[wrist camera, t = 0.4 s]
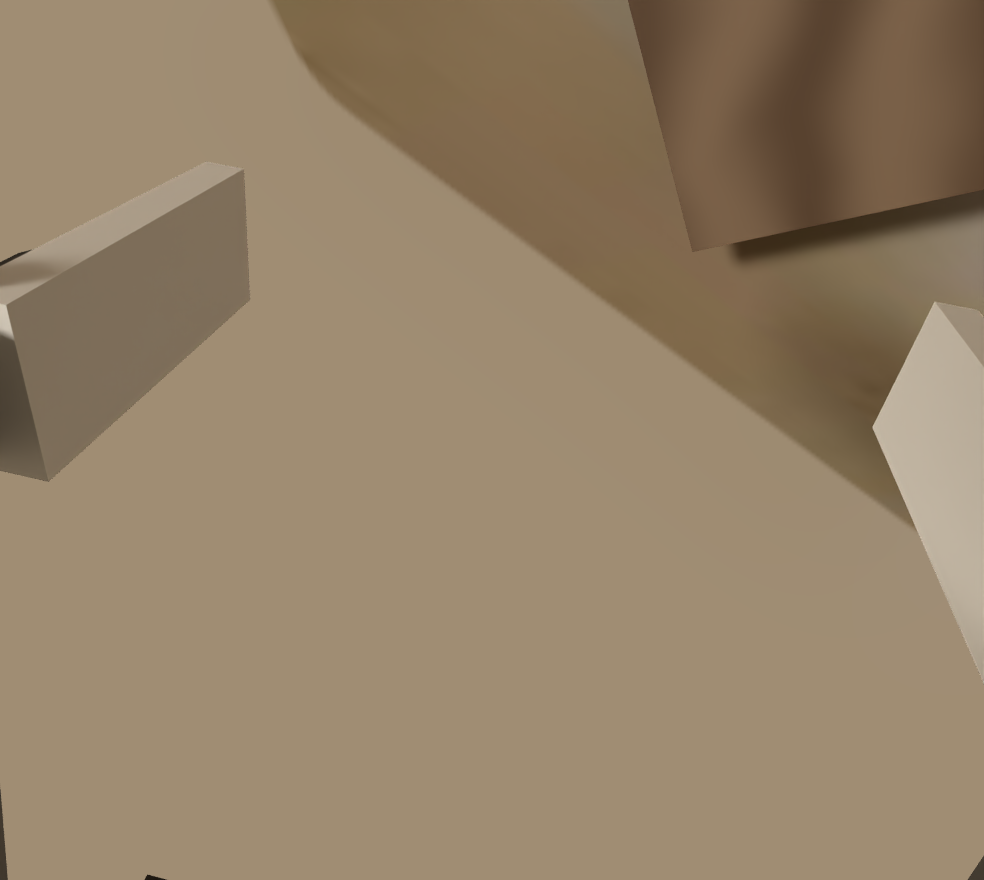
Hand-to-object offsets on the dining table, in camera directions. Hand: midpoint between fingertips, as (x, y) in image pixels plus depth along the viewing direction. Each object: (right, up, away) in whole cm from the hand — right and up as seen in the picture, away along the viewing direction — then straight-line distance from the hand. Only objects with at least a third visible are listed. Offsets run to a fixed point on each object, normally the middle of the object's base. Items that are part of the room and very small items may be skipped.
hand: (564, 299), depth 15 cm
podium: (+12, +14, +18) cm, 26 cm away
